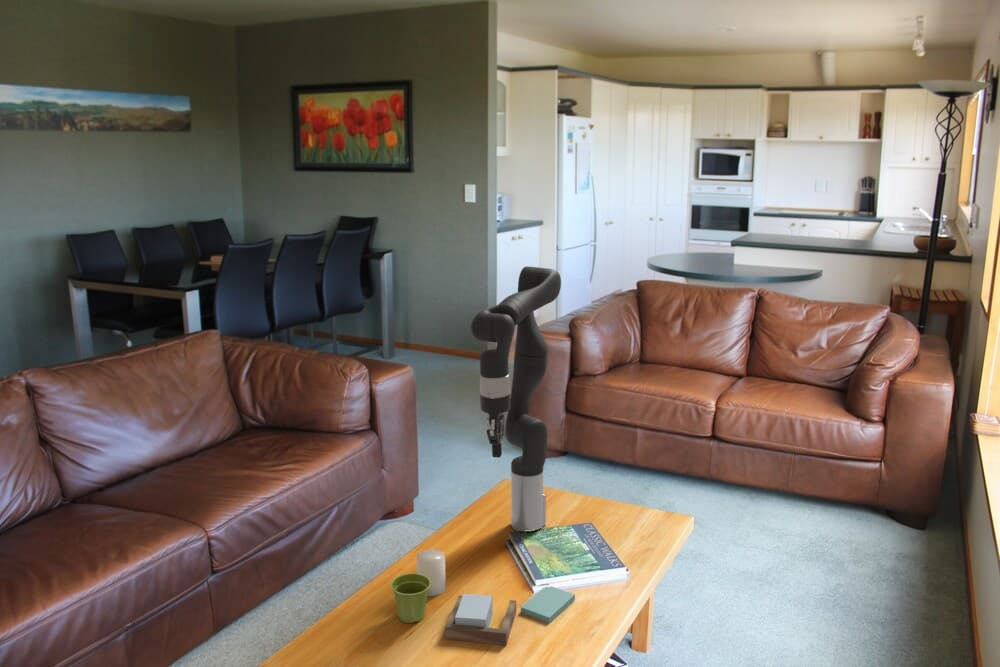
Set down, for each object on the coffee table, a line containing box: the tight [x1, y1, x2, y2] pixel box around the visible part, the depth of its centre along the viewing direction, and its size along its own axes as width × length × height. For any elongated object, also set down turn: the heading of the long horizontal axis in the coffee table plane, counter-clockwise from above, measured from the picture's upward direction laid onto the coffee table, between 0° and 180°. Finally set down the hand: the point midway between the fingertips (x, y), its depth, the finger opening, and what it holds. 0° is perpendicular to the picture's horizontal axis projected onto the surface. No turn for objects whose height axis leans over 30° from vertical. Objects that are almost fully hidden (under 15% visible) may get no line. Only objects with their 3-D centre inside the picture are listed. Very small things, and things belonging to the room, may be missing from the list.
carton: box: [455, 593, 494, 628], centre depth 192 cm, size 10×7×5 cm
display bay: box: [444, 595, 517, 646], centre depth 192 cm, size 14×14×3 cm
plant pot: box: [390, 572, 431, 624], centre depth 195 cm, size 9×9×9 cm
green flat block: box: [520, 585, 576, 624], centre depth 200 cm, size 12×8×2 cm, turn 146°
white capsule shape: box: [416, 548, 447, 597], centre depth 207 cm, size 7×7×9 cm
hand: (497, 456), depth 211 cm, fingers closed
